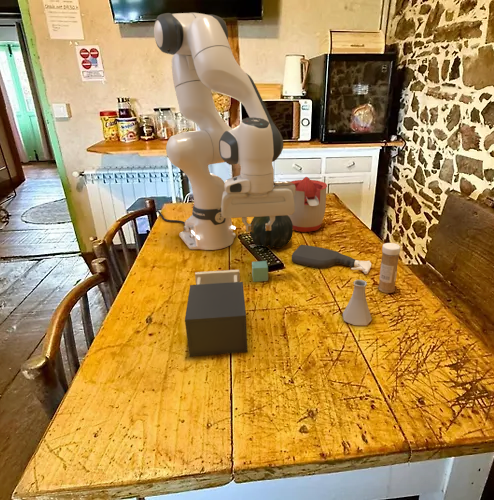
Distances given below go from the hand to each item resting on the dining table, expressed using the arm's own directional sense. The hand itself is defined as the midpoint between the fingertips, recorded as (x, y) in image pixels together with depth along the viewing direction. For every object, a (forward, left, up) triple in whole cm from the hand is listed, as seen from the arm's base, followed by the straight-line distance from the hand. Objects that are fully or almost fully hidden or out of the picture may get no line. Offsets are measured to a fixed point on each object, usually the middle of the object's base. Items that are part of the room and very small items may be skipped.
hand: (258, 230), depth 111 cm
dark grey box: (+16, -24, -15) cm, 33 cm away
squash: (-17, +18, -15) cm, 29 cm away
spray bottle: (+7, +23, -15) cm, 29 cm away
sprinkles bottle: (+28, +23, -15) cm, 39 cm away
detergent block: (0, 0, -15) cm, 15 cm away
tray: (+7, -18, -14) cm, 24 cm away
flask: (+32, +6, -15) cm, 36 cm away
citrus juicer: (-21, +38, -15) cm, 46 cm away
